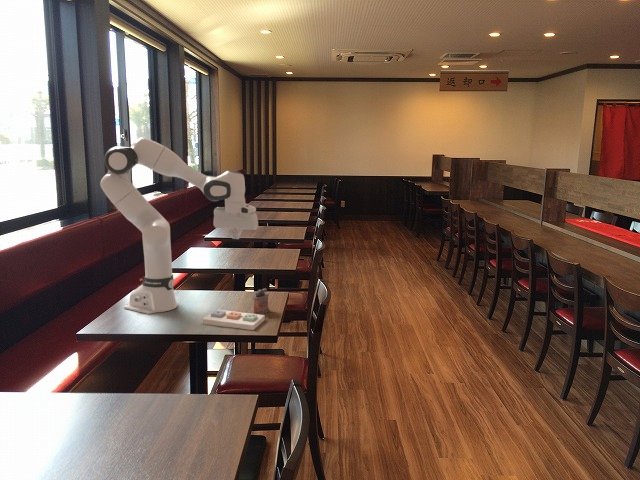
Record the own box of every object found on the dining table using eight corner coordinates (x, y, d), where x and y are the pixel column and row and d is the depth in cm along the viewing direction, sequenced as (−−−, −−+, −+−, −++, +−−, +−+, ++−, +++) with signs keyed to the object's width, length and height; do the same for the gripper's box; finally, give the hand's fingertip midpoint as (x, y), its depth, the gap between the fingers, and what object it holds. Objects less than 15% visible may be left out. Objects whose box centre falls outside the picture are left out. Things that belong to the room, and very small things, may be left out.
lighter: (257, 315, 214) (257, 292, 212) (251, 313, 216) (251, 291, 214) (270, 310, 221) (270, 288, 219) (264, 309, 223) (264, 287, 221)
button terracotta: (226, 322, 205) (226, 315, 205) (231, 318, 210) (231, 311, 209) (236, 323, 204) (236, 316, 204) (241, 320, 208) (241, 312, 208)
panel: (202, 323, 204) (202, 318, 204) (216, 313, 216) (216, 309, 215) (253, 330, 198) (253, 325, 198) (264, 319, 210) (264, 315, 209)
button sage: (242, 324, 204) (242, 317, 203) (247, 320, 208) (247, 313, 207) (252, 325, 202) (252, 318, 202) (257, 322, 207) (257, 314, 206)
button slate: (211, 320, 207) (210, 313, 207) (216, 316, 212) (215, 309, 211) (220, 321, 206) (220, 314, 206) (225, 318, 210) (225, 311, 210)
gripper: (210, 207, 223) (211, 238, 226) (253, 209, 218) (254, 241, 221) (217, 205, 229) (217, 235, 232) (259, 208, 224) (259, 238, 227)
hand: (235, 238), depth 226 cm, fingers closed
